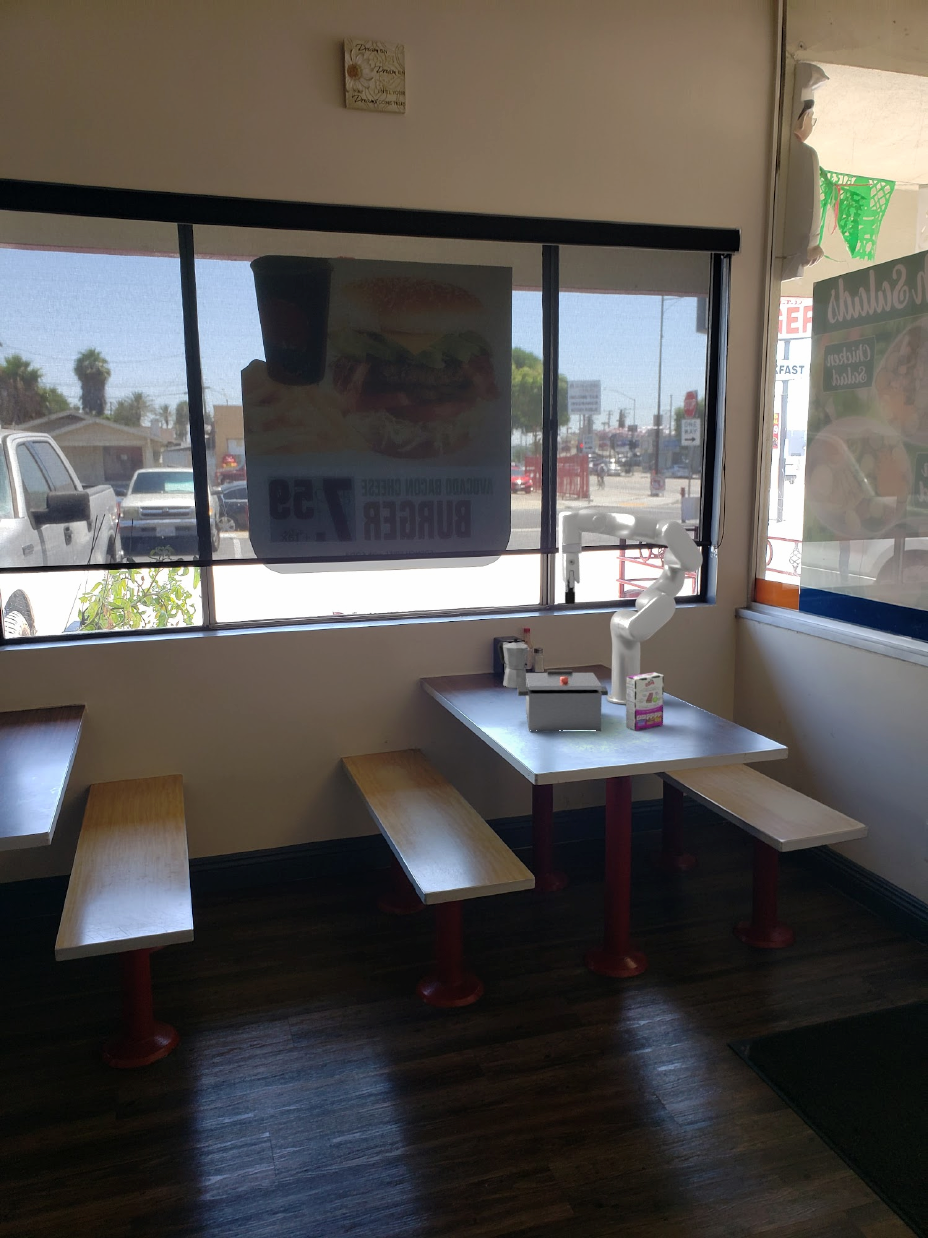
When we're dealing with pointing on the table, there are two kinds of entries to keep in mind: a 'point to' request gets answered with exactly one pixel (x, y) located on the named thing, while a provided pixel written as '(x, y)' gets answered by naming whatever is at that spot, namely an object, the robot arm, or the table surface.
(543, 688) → the cooker lid
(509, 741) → the table surface
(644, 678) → the candy bar box
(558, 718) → the grey metal box
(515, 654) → the coffeepot
